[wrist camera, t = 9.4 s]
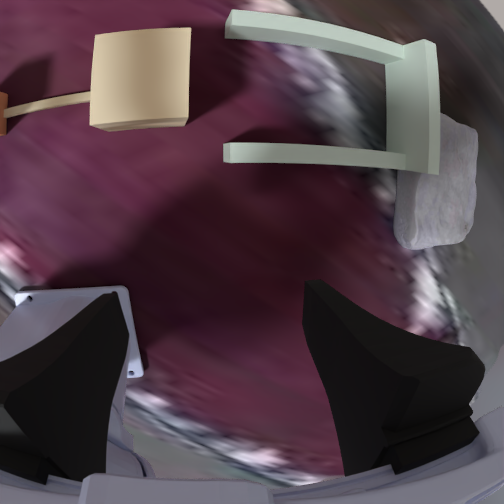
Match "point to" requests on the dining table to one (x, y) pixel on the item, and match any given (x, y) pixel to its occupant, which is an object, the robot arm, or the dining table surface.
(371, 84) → the dining table surface
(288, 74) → the dining table surface
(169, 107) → the tethered block
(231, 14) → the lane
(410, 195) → the stone block
